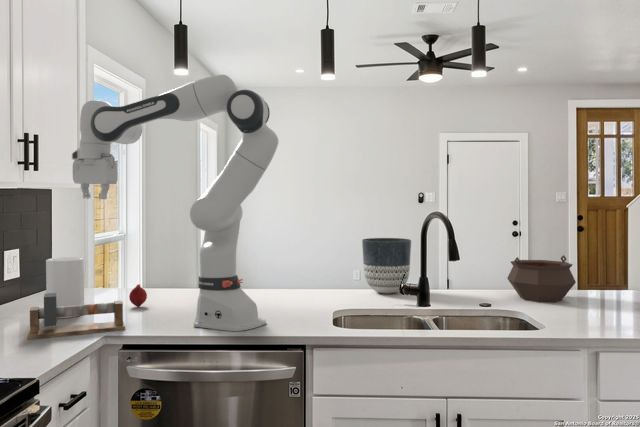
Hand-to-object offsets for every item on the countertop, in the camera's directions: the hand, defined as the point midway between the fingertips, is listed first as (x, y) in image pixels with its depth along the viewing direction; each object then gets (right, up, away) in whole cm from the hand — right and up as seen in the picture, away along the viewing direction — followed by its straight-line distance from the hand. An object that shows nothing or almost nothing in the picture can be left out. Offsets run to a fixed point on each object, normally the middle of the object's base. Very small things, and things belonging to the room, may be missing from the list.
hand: (94, 198), depth 169 cm
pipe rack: (0, -38, -12) cm, 40 cm away
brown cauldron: (+153, -37, +37) cm, 161 cm away
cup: (-14, -38, +10) cm, 42 cm away
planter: (+96, -37, +51) cm, 115 cm away
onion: (+6, -38, +23) cm, 45 cm away
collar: (-6, -36, -15) cm, 39 cm away
